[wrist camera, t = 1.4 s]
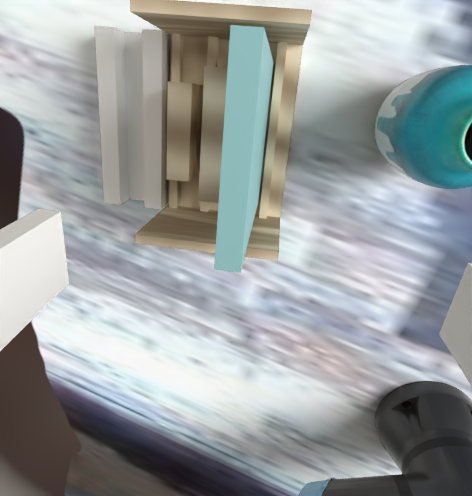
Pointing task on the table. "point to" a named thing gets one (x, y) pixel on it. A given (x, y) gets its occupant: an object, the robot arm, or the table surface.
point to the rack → (192, 71)
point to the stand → (133, 114)
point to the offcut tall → (212, 133)
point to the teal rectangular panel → (242, 142)
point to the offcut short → (184, 130)
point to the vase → (430, 127)
